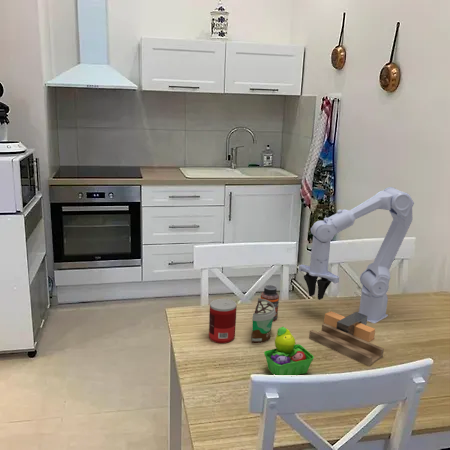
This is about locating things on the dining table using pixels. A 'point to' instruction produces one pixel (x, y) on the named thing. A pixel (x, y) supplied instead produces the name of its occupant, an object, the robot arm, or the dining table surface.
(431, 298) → the dining table surface
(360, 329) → the shaft
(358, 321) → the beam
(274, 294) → the supplement bottle
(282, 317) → the dining table surface
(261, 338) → the food container
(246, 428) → the dining table surface
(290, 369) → the fruit basket
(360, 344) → the tray
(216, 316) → the canned food
